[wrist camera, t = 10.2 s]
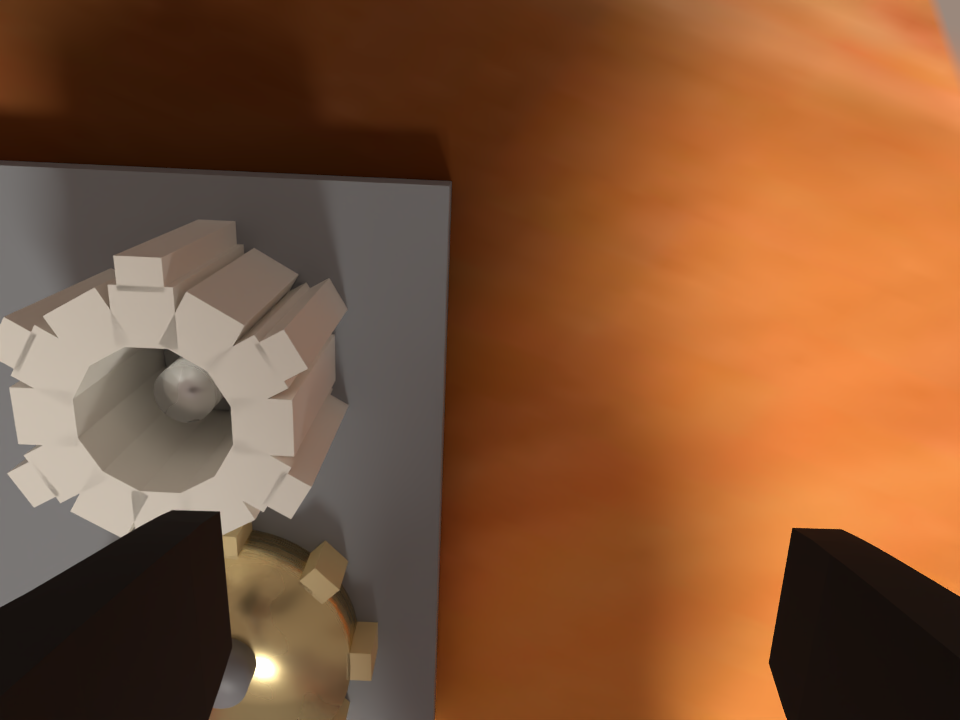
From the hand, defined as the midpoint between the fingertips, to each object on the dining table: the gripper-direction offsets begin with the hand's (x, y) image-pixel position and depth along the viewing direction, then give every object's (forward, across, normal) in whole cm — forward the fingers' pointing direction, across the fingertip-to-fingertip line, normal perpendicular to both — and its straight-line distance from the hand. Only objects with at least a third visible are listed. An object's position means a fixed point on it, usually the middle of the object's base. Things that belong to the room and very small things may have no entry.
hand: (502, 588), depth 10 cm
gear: (+8, +6, 0) cm, 10 cm away
